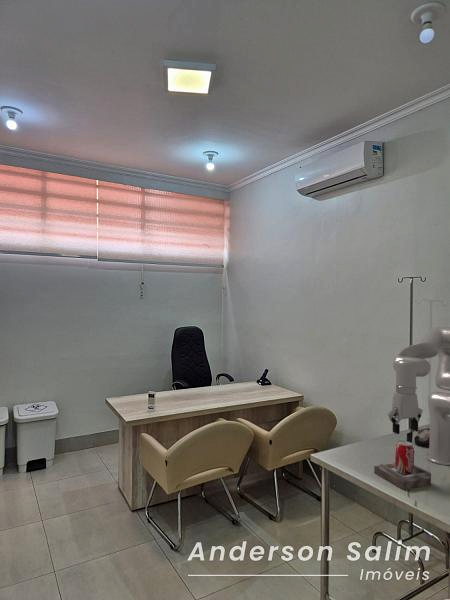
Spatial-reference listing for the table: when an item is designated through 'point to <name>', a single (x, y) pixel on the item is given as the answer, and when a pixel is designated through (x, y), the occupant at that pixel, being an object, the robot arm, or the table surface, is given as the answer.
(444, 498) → the table surface
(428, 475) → the frame
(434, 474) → the table surface
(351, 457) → the table surface
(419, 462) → the table surface
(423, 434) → the caster wheel
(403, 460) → the soda can
